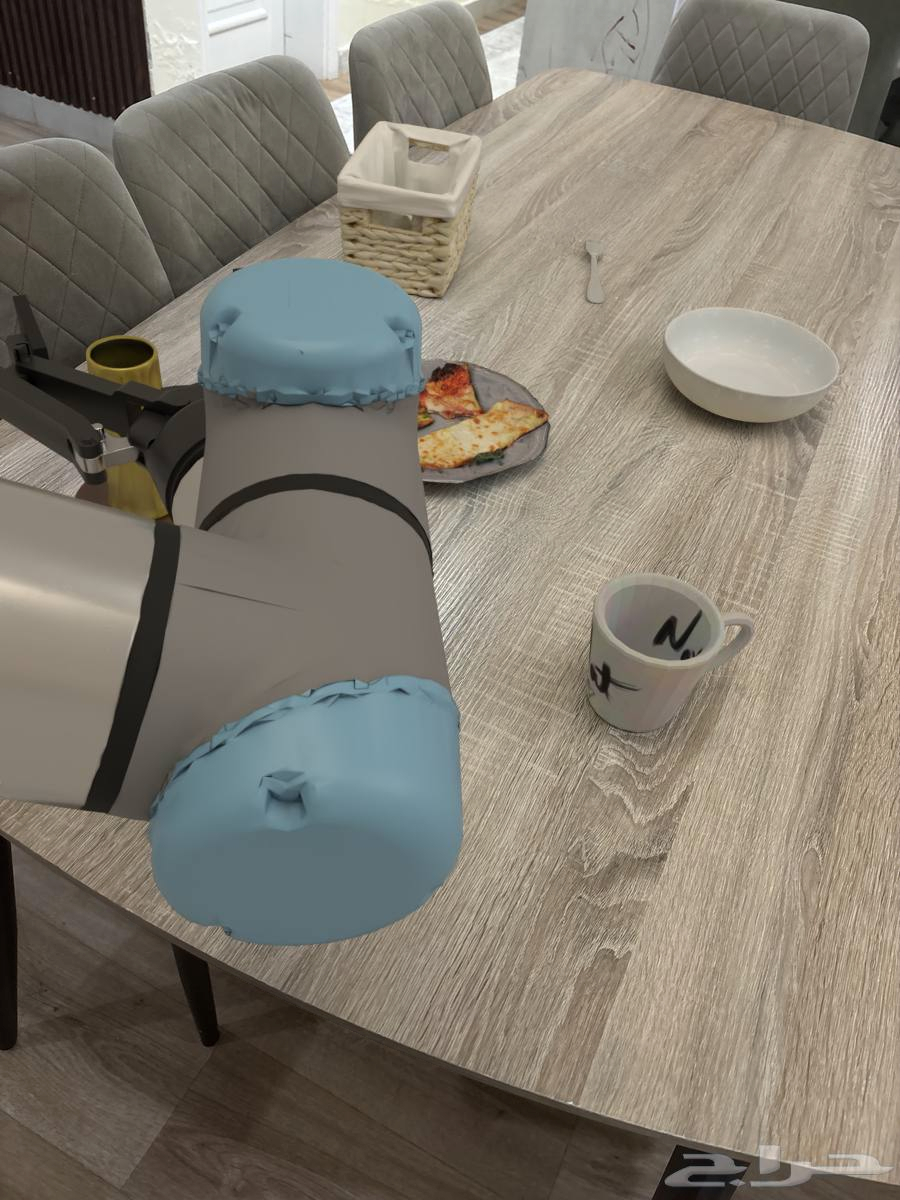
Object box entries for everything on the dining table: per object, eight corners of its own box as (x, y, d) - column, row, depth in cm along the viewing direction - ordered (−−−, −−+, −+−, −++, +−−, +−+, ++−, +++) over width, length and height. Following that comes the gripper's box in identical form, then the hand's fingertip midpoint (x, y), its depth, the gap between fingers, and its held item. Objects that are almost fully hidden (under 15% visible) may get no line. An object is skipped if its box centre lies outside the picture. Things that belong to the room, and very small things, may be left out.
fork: (581, 316, 134) (585, 299, 131) (582, 240, 147) (586, 223, 145) (601, 319, 134) (605, 302, 131) (600, 242, 147) (604, 226, 145)
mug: (551, 661, 82) (573, 578, 75) (702, 638, 86) (736, 557, 79) (597, 757, 75) (625, 675, 68) (759, 727, 79) (802, 646, 72)
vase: (110, 479, 83) (81, 332, 73) (182, 476, 84) (163, 331, 74) (107, 524, 78) (76, 374, 69) (183, 520, 80) (163, 372, 70)
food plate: (469, 357, 118) (472, 331, 115) (588, 455, 105) (594, 429, 103) (290, 405, 106) (289, 377, 104) (399, 522, 94) (401, 494, 91)
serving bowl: (679, 337, 127) (693, 289, 122) (833, 387, 121) (854, 339, 116) (627, 406, 113) (640, 355, 108) (797, 467, 107) (820, 416, 103)
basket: (447, 307, 127) (457, 196, 116) (330, 286, 128) (331, 175, 117) (475, 237, 144) (487, 135, 134) (372, 219, 145) (376, 116, 135)
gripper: (-5, 612, 45) (-61, 385, 58) (454, 499, 55) (318, 326, 68) (-47, 487, 40) (-98, 268, 53) (468, 387, 50) (318, 223, 62)
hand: (136, 300), depth 60 cm, fingers open, 13 cm apart
